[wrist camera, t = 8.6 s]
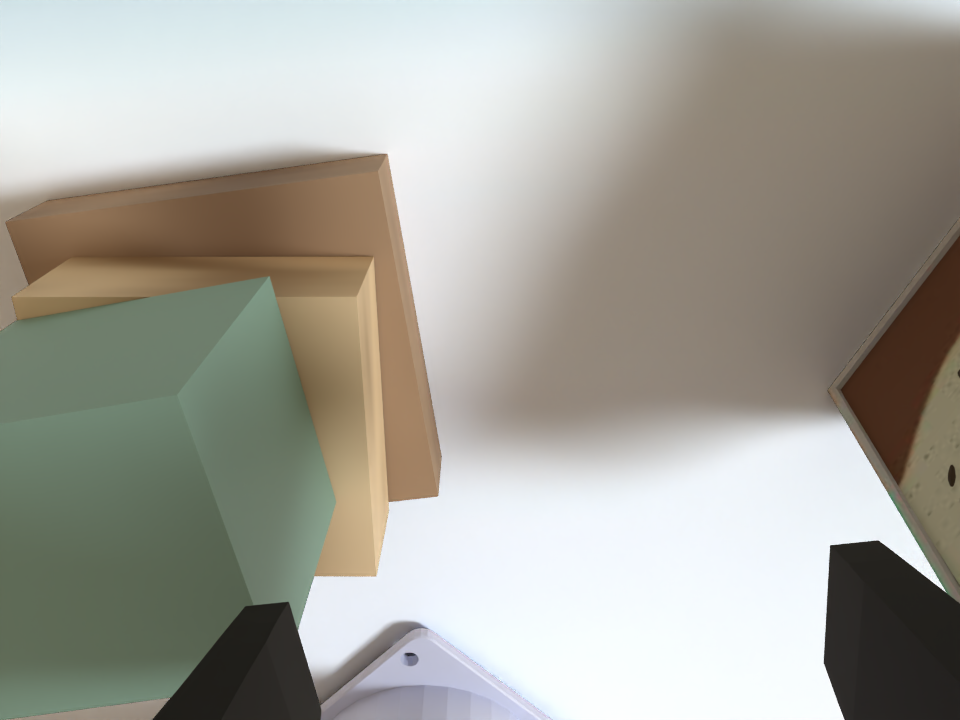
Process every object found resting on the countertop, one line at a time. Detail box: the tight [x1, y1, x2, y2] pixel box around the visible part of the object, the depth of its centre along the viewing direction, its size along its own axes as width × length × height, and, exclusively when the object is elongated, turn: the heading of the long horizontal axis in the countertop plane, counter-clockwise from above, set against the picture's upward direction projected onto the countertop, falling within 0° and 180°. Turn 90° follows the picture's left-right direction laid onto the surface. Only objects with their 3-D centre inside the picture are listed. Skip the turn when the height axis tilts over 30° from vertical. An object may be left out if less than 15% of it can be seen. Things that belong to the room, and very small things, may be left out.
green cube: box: [0, 276, 336, 720], centre depth 14 cm, size 5×5×5 cm
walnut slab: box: [5, 154, 442, 502], centre depth 20 cm, size 8×8×2 cm
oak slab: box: [12, 257, 389, 576], centre depth 18 cm, size 6×6×2 cm
